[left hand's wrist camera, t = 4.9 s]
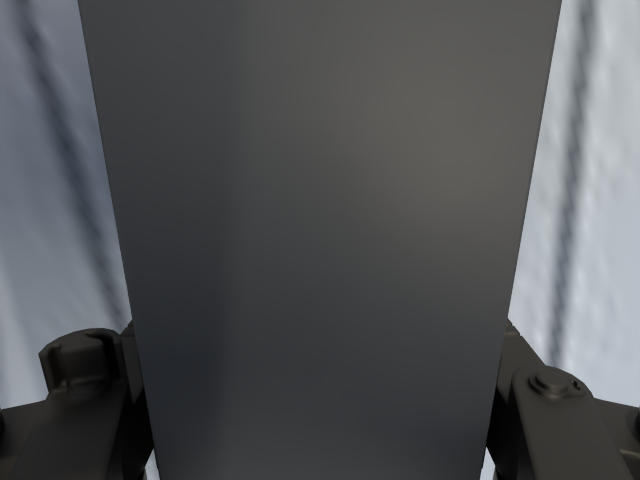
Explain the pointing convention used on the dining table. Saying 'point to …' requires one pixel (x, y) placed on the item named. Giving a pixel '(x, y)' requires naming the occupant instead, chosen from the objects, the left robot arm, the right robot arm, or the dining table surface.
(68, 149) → the dining table surface
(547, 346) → the dining table surface
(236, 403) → the post
